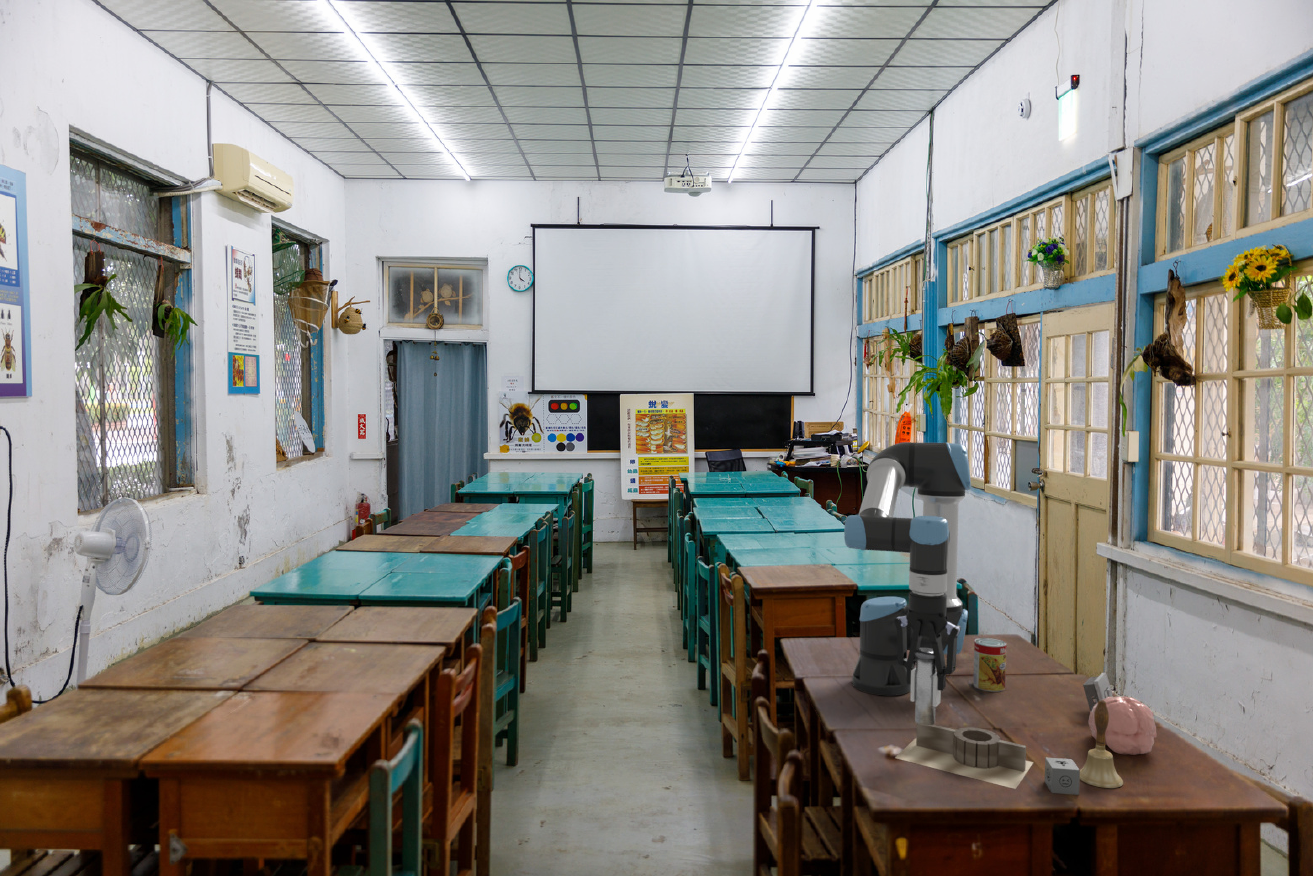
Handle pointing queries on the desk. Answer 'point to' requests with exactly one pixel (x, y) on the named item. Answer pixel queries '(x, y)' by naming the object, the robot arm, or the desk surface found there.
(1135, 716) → the brain
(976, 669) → the canned food
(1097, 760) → the hand bell
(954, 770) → the hinge board
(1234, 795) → the desk surface
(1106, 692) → the electrical switch
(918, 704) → the pin
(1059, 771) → the dice cube
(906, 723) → the desk surface
